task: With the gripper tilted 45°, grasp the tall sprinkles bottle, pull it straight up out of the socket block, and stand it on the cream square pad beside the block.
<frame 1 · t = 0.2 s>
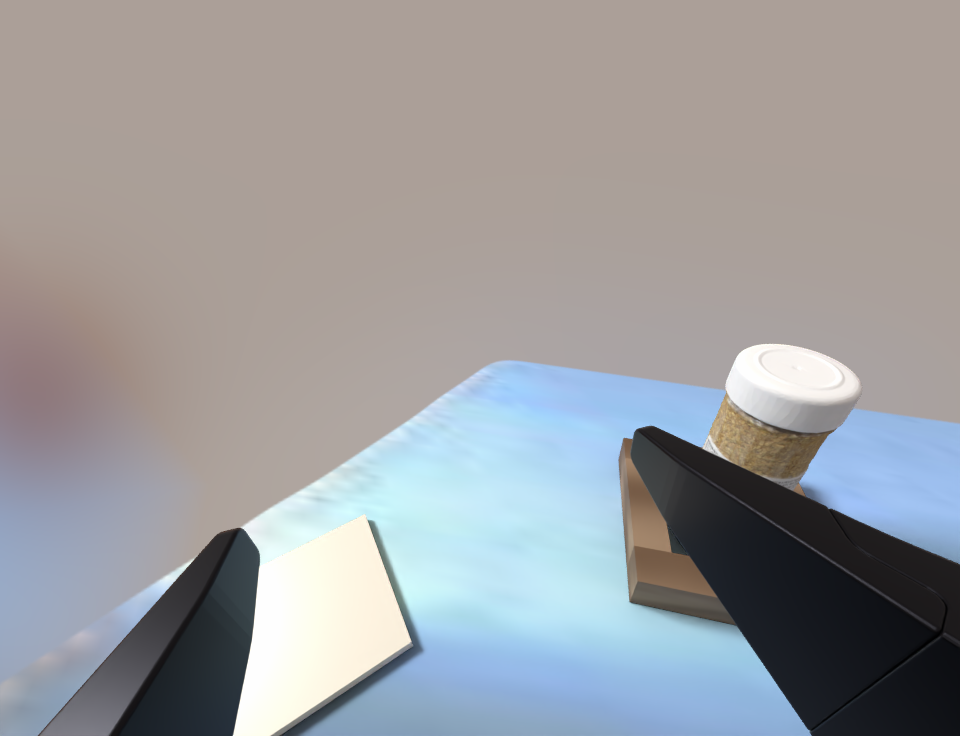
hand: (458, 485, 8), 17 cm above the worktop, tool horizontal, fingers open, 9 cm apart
sprinkles bottle: (707, 535, 24), resting in socket block
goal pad: (313, 615, 22), on the worktop
socket block: (708, 533, 24), on the worktop
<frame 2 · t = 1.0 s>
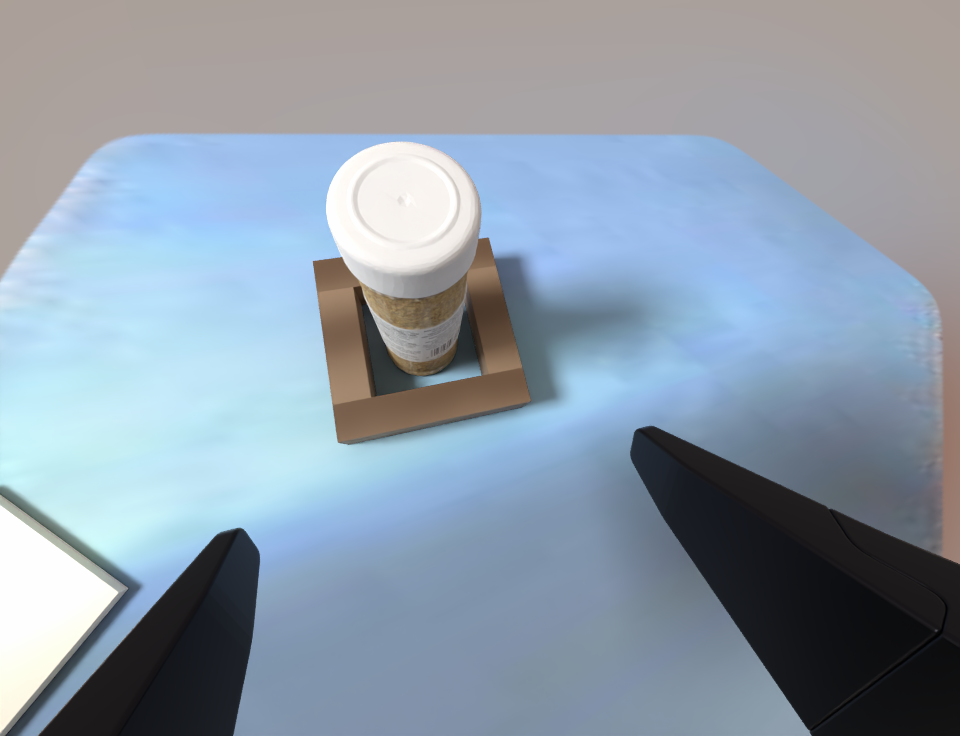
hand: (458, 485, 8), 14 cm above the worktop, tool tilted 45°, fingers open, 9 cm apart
sprinkles bottle: (422, 344, 24), resting in socket block
socket block: (422, 343, 23), on the worktop
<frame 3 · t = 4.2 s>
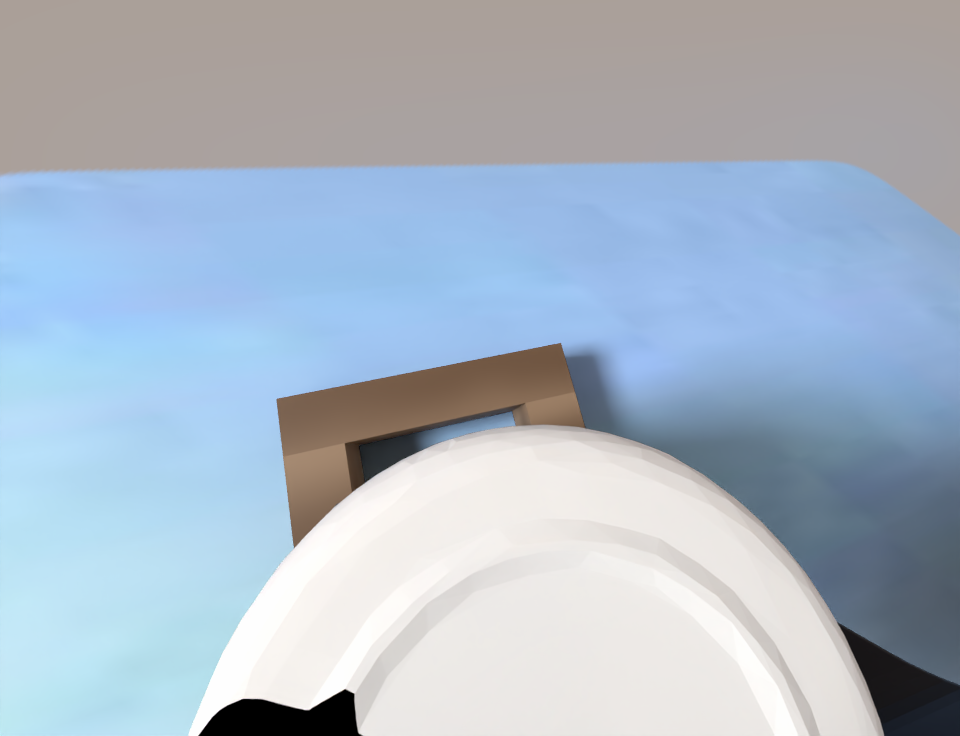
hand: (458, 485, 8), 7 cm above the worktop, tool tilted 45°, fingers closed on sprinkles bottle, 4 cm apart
sprinkles bottle: (454, 506, 15), resting in socket block, touching gripper
socket block: (454, 507, 15), on the worktop
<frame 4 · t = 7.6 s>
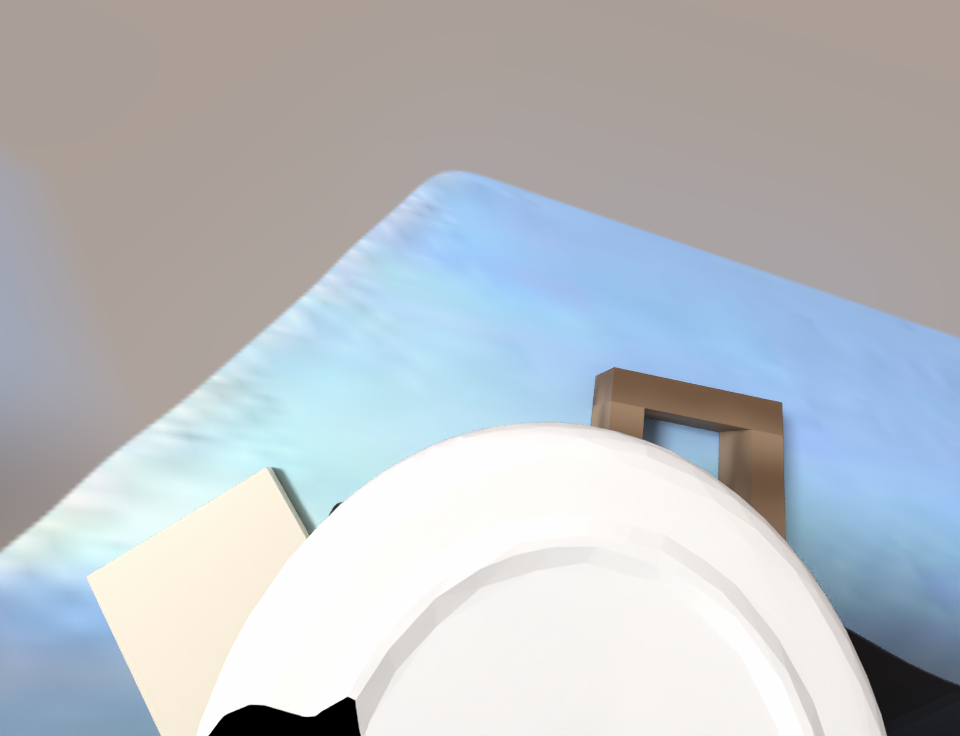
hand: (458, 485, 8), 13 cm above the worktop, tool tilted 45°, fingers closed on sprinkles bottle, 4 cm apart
sprinkles bottle: (454, 505, 15), point 6 cm above the worktop, touching gripper
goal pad: (229, 594, 19), on the worktop
socket block: (668, 475, 23), on the worktop
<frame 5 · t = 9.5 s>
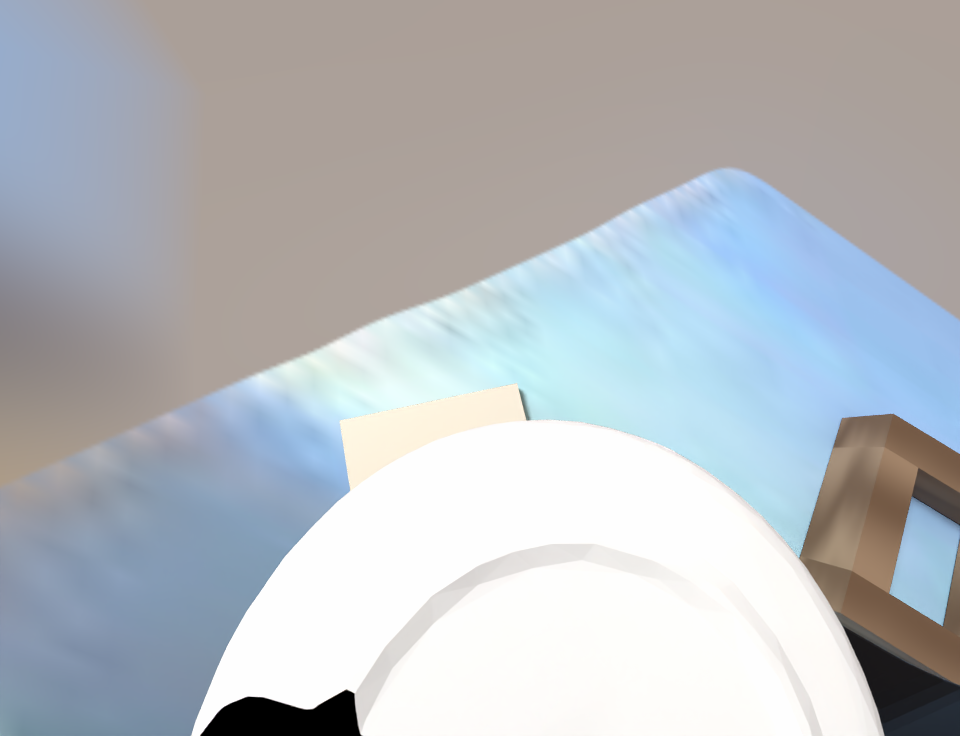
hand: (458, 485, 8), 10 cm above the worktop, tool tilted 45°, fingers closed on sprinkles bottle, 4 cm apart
sprinkles bottle: (452, 504, 15), point 3 cm above the worktop, touching gripper
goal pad: (450, 491, 18), on the worktop
socket block: (900, 550, 20), on the worktop
when the fingers open (8 cm above the worktop, at t = 10.8 s): sprinkles bottle stays where it is, resting on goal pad.
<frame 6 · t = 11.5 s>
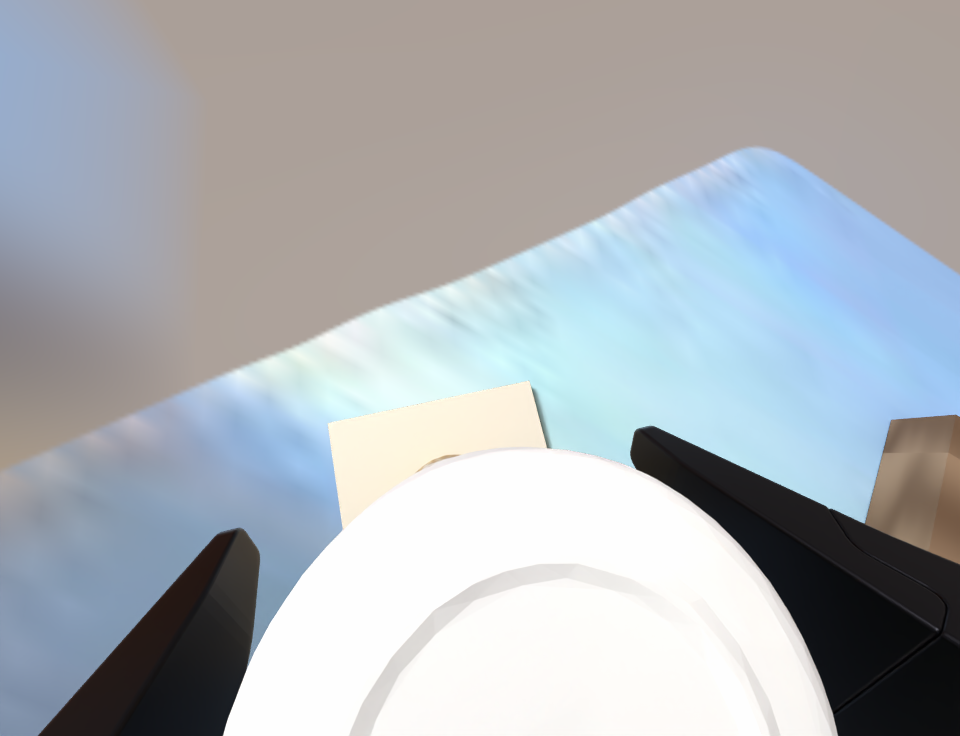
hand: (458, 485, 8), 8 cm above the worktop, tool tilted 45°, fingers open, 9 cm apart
sprinkles bottle: (453, 510, 15), resting on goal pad
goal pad: (453, 503, 16), on the worktop
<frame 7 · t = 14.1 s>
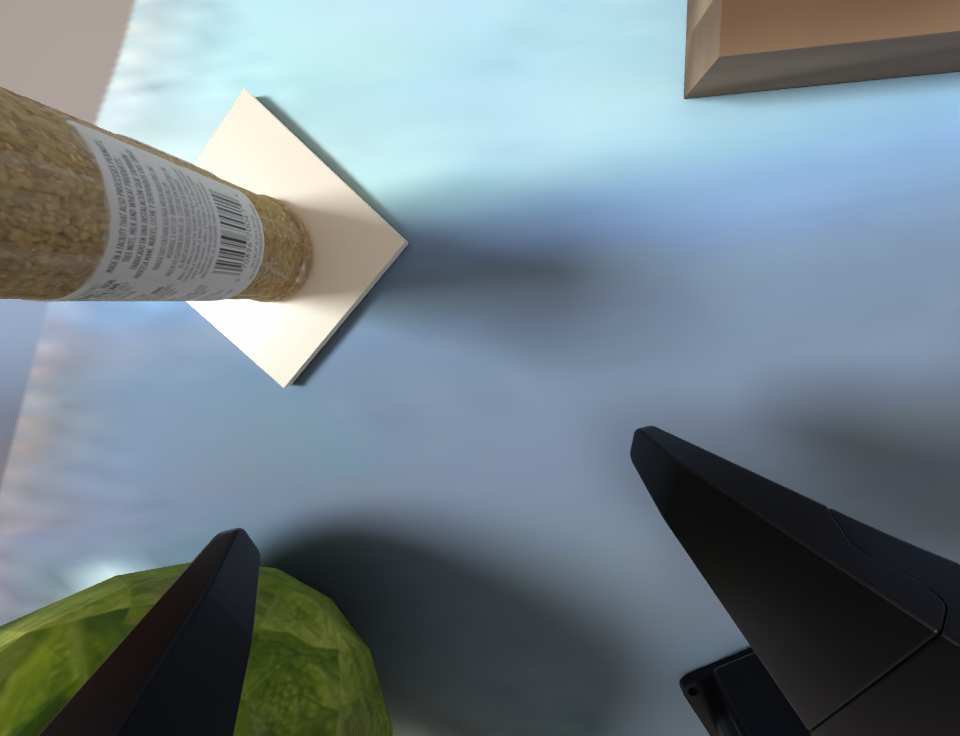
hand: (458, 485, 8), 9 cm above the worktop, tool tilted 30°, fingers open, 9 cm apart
sprinkles bottle: (270, 252, 16), resting on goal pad
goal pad: (273, 250, 17), on the worktop
lettuce: (258, 671, 22), on the worktop
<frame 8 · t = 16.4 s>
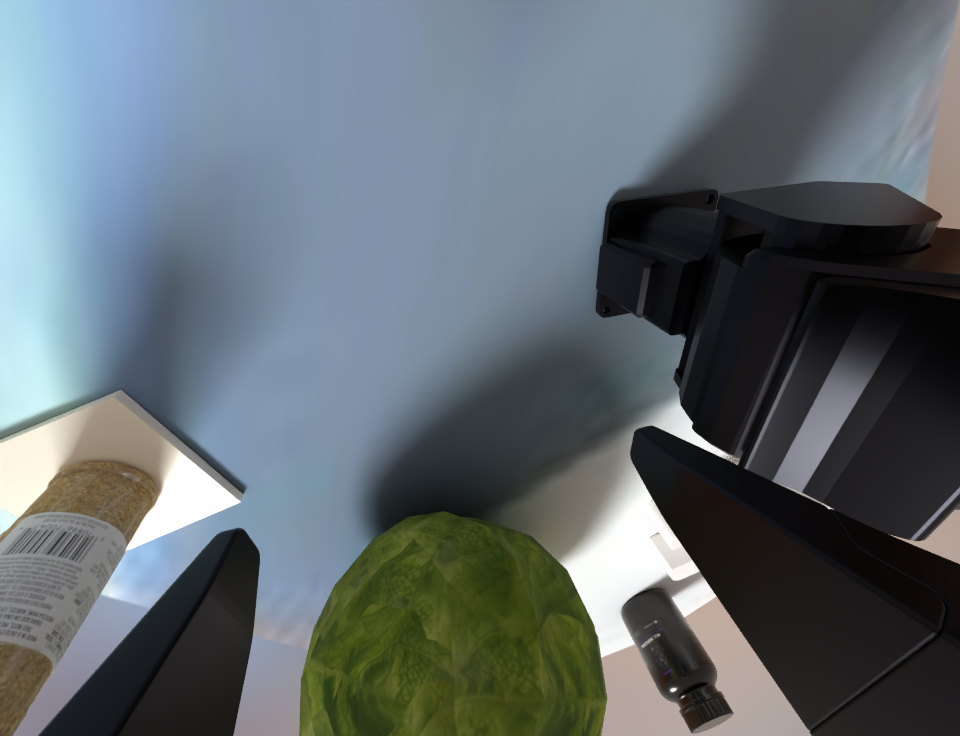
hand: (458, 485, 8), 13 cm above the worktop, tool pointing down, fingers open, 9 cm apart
bracket: (727, 489, 39), on the worktop
sprinkles bottle: (113, 485, 20), resting on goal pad
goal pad: (113, 480, 20), on the worktop
supplement bottle: (641, 601, 48), on the worktop
lettuce: (458, 551, 32), on the worktop
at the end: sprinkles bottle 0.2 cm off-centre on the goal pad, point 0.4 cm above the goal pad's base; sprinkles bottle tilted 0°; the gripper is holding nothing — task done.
